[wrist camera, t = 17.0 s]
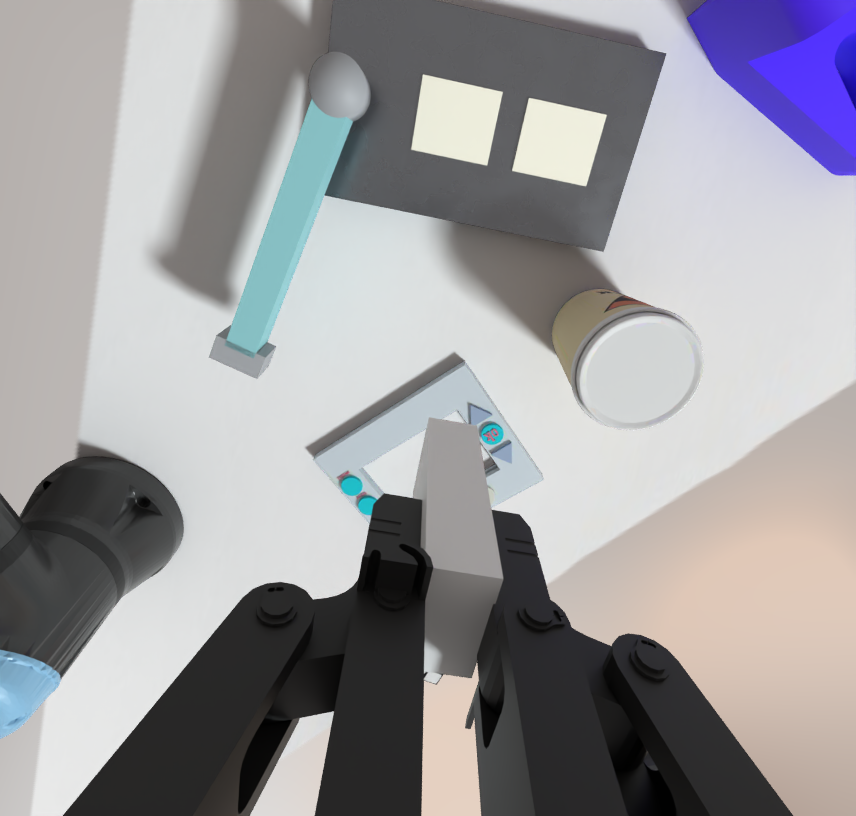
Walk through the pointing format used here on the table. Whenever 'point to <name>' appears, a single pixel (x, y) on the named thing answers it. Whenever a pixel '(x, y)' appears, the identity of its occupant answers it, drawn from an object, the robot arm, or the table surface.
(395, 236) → the table surface
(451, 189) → the plate
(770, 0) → the bracket
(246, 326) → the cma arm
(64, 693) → the table surface
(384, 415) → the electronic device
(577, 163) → the label
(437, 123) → the label
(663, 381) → the coffee cup
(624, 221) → the table surface
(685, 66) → the table surface
